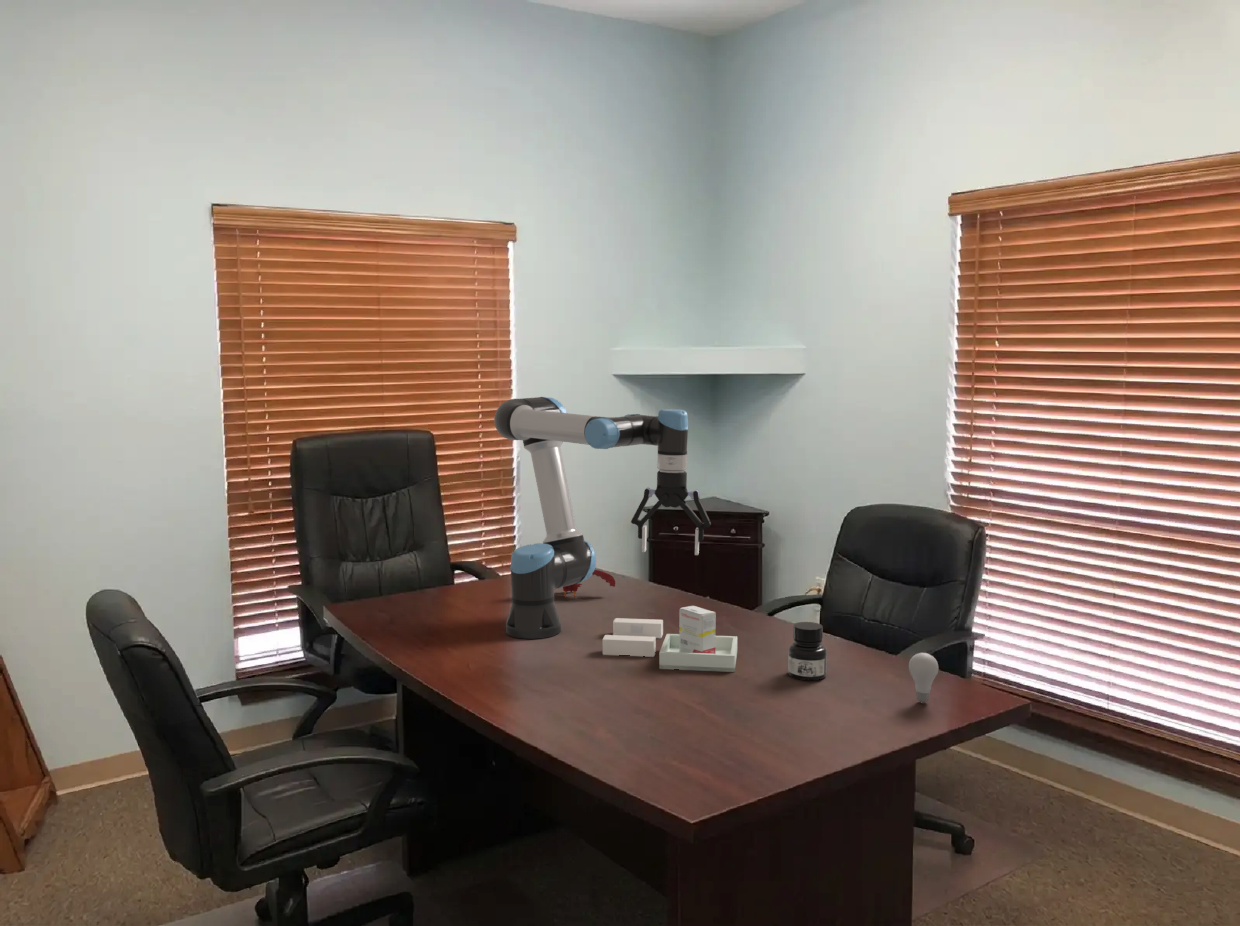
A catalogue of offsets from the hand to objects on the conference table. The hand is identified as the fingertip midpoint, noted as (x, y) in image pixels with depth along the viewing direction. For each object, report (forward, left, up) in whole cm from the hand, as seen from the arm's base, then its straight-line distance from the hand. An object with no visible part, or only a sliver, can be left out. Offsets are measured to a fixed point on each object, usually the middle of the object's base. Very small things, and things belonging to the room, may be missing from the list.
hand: (670, 552), depth 248 cm
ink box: (+8, -10, -24) cm, 27 cm away
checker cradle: (-10, +1, -25) cm, 27 cm away
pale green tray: (+8, -10, -25) cm, 28 cm away
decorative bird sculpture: (-37, +48, -25) cm, 65 cm away
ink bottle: (+34, -18, -25) cm, 46 cm away
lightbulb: (+58, -33, -25) cm, 72 cm away
